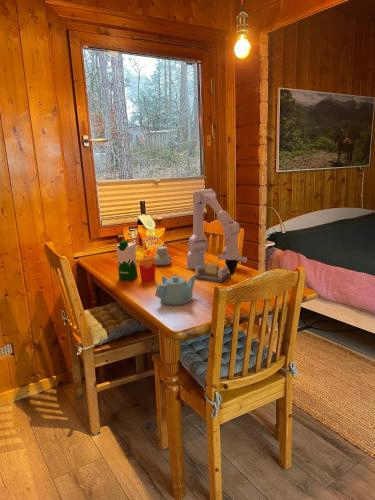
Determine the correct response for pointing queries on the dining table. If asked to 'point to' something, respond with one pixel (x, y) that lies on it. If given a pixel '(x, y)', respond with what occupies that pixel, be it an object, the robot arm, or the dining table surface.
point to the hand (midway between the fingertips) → (232, 274)
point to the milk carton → (127, 260)
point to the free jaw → (222, 272)
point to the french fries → (147, 269)
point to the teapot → (175, 290)
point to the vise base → (201, 276)
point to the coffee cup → (225, 254)
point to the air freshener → (162, 256)
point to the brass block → (211, 269)
